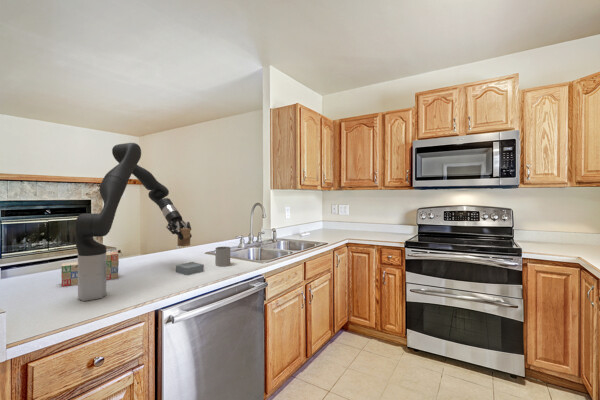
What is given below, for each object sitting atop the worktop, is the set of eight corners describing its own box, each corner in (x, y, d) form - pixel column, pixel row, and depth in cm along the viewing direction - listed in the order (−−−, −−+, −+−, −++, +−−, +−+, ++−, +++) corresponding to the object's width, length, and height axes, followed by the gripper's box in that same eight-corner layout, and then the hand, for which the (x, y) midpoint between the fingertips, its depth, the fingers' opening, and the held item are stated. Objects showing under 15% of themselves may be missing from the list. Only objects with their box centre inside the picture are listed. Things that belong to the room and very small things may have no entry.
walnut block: (190, 245, 156) (190, 228, 156) (183, 246, 152) (183, 229, 152) (184, 244, 158) (184, 228, 158) (177, 245, 155) (177, 228, 154)
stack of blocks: (61, 287, 126) (61, 259, 126) (61, 283, 131) (61, 256, 131) (118, 278, 140) (118, 253, 140) (116, 275, 145) (116, 251, 145)
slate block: (203, 271, 155) (203, 264, 155) (187, 276, 147) (187, 268, 147) (192, 268, 161) (192, 261, 161) (175, 272, 152) (175, 265, 152)
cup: (233, 264, 171) (233, 247, 170) (222, 267, 164) (222, 249, 163) (223, 262, 175) (223, 246, 175) (212, 265, 168) (212, 248, 168)
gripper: (163, 210, 153) (178, 235, 147) (185, 209, 165) (200, 232, 159) (156, 220, 155) (171, 244, 150) (179, 218, 168) (193, 241, 162)
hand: (186, 238), depth 154 cm, fingers closed on walnut block, 4 cm apart
